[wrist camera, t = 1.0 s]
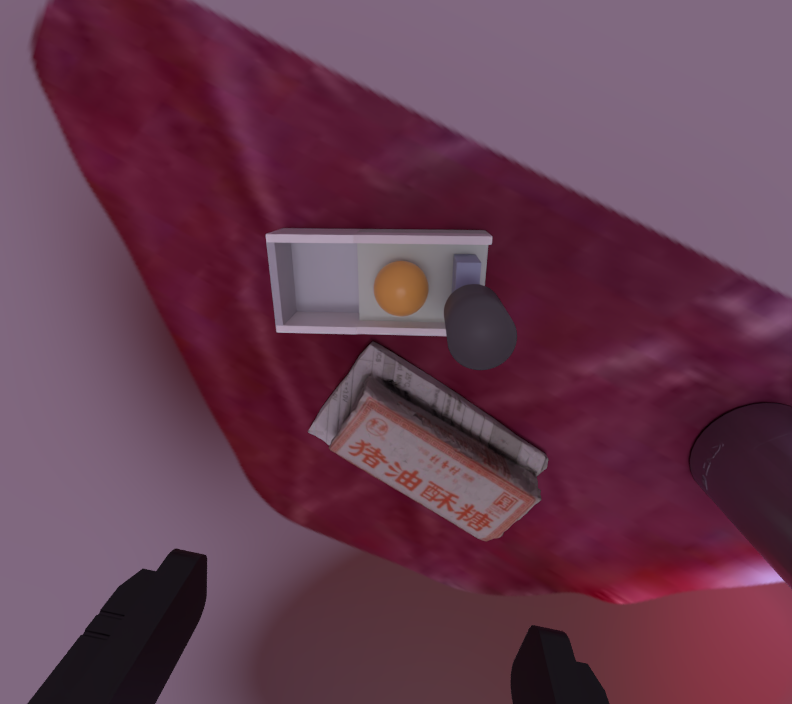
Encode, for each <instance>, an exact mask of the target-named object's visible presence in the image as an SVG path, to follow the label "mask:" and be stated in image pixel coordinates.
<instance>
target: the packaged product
mask: <svg viewBox="0 0 792 704" xmlns="http://www.w3.org/2000/svg"><path fill="white" fill-rule="evenodd" d="M308 433H310V434H313V435H315V436H317V437H318V438H320V439H322V440H323V441H325V442H326V443H327V444H328V445H330V446H329V449H330V450H331V451H332V452H335V453H336V454H338V455H339V456H341V457H342V458H344V459H345V460H347V461H349V462H350V463H352V464H354V465H355V466H357V467H359V468H360V469H362V470H364V471H366V472H367V473H369V474H370V475H372V476H374V477H375V478H377V479H379V480H381V481H383V482H384V483H386V484H388V485H389V486H391V487H393V488H394V489H396V490H398V491H399V492H401V493H403V494H405V495H406V496H408V497H410V498H411V499H413V500H415V501H416V502H418V503H420V504H421V505H423V506H425V507H426V508H428V509H430V510H431V511H433V512H435V513H437V514H438V515H440V516H441V517H444V518H445V519H446V520H448V521H450V522H452V523H453V524H455V525H456V526H458V527H459V528H461V529H463V530H465V531H467V532H468V533H470V534H471V535H473V536H475V537H476V538H478V539H481V540H483V541H488V540H492V539H493V538H499V537H501V536H502V535H503V533H504V531H506V530H507V529H509V527H510V526H511V525H512V524H513V523H515V522H516V521H517V520H520V519H521V518H522V517H523V516H524V515H525V514H527V513H528V511H529V510H530V509H531V508H532V507H533V506H534V505H535V504H537V503H538V502H540V501H541V495H540V493H541V490H540V489H538V481H537V476H538V475H539V474H540V473H541V472H542V471H543V470H545V469H546V468H547V463H548V458H547V456H546V454H545V453H544V452H542V451H540V450H539V449H537V448H536V447H534V446H533V445H531V444H530V443H528V442H526V441H525V440H523V439H522V438H520V437H519V436H517V435H516V434H514V433H513V432H512V431H510V430H509V429H508V428H506V427H505V426H504V425H502V424H501V423H499V422H498V421H497V420H495V419H494V418H493V417H491V416H490V415H488V414H486V413H485V412H483V411H482V410H481V409H479V408H478V407H476V406H475V405H473V404H472V403H470V402H469V401H467V400H466V399H464V398H463V397H462V396H460V395H459V394H457V393H456V392H454V391H453V390H451V389H450V388H448V387H447V386H445V385H444V384H442V383H441V382H439V381H437V380H436V379H434V378H433V377H431V376H430V375H428V374H427V373H425V372H423V371H422V370H420V369H419V368H417V367H415V366H414V365H412V364H410V363H409V362H407V361H406V360H404V359H402V358H401V357H399V356H397V355H396V354H394V353H393V352H391V351H389V350H388V349H386V348H384V347H383V346H381V345H379V344H377V343H375V342H372V343H371V344H370V345H369V346H368V347H367V348H366V349H365V350H364V351H363V352H362V353H361V354H360V356H359V357H358V359H357V360H356V362H355V364H354V365H353V367H352V368H351V370H350V372H349V373H348V375H347V376H346V377H345V378H344V379H343V381H342V382H341V383H340V384H339V386H338V387H337V388H336V389H335V391H334V392H333V393H332V395H331V396H330V397H329V399H328V400H327V401H326V403H325V404H324V405H323V407H322V408H321V410H320V412H319V413H318V415H317V417H316V419H315V420H314V422H313V424H312V426H311V427H310V429H309V431H308Z"/></svg>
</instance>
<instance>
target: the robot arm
mask: <svg viewBox="0 0 792 704" xmlns="http://www.w3.org/2000/svg"><path fill="white" fill-rule="evenodd" d="M690 470H691V473H692V475H693V478H694V479H695V481H696V482H697V483H698V485H699V486H700V487H701V488H702V489H703V490H704V491H705V493H706V494H707V495H708V496H709V497H710V498H711V499H712V500H713V501H714V503H715V504H716V505H717V506H718V507H719V508H720V509H721V510H722V512H723V513H724V514H725V515H726V516H727V517H728V519H729V520H730V521H731V522H732V523H733V524H734V525H735V526H736V528H737V529H738V530H739V531H740V532H741V533H742V534H743V535H744V536H745V538H746V539H747V540H748V541H749V542H750V543H751V544H752V545H753V547H754V548H755V549H756V550H757V551H758V552H759V553H760V554H761V555H762V557H763V558H764V559H765V560H766V561H767V562H768V563H769V564H770V566H771V567H772V568H773V569H774V570H775V571H776V572H777V573H778V574H779V576H780V577H781V578H782V579H783V580H784V581H785V582H786V583H787V585H788V586H789V587H790V588H791V589H792V407H791V406H787V405H783V404H779V403H760V404H753V405H748V406H745V407H742V408H738V409H736V410H734V411H731V412H729V413H727V414H725V415H723V416H722V417H720V418H719V419H717V420H716V421H714V422H713V423H712V424H711V425H710V426H709V427H707V428H706V429H705V430H704V431H703V433H702V434H701V435H700V437H699V438H698V439H697V441H696V443H695V445H694V447H693V449H692V452H691V457H690ZM206 596H207V556H206V555H204V554H199V553H194V552H189V551H185V550H180V549H174V550H172V551H171V552H170V553H169V554H168V556H167V557H166V558H165V560H164V561H163V563H162V564H161V565H160V567H159V568H158V570H157V571H151V570H147V569H142V570H140V571H139V572H138V573H136V574H135V575H134V576H132V577H131V578H130V579H128V580H127V581H126V582H124V583H123V584H122V585H120V586H119V587H118V588H117V590H116V591H115V592H114V593H113V595H112V596H111V597H110V598H109V600H108V601H107V602H106V604H105V605H104V606H103V607H102V609H101V611H100V613H99V614H98V615H96V616H95V618H94V619H93V620H92V622H91V623H90V624H89V625H88V627H87V628H86V629H85V632H84V634H83V635H81V636H80V637H79V638H78V639H77V641H76V642H75V643H74V645H73V646H72V647H71V649H70V650H69V651H68V652H67V654H66V655H65V656H64V657H63V659H62V660H61V661H60V663H59V664H58V665H57V666H56V668H55V669H54V670H53V672H52V673H51V674H50V675H49V677H48V678H47V679H46V681H45V682H44V683H43V684H42V686H41V687H40V688H39V690H38V691H37V692H36V693H35V695H34V696H33V697H32V699H31V700H30V701H29V703H28V704H155V703H156V701H157V699H158V697H159V696H160V694H161V692H162V690H163V688H164V686H165V684H166V682H167V681H168V679H169V677H170V675H171V673H172V671H173V669H174V668H175V666H176V664H177V662H178V660H179V658H180V656H181V654H182V653H183V651H184V649H185V647H186V645H187V643H188V641H189V639H190V638H191V636H192V634H193V632H194V630H195V628H196V626H197V624H198V622H199V620H200V618H201V615H202V612H203V609H204V606H205V602H206ZM511 694H512V700H513V704H609V701H608V699H607V696H606V693H605V690H604V689H603V687H602V686H601V684H600V682H599V681H598V679H597V678H596V676H595V675H594V673H593V671H592V670H591V668H590V667H589V665H588V664H586V663H581V662H576V660H575V657H574V653H573V650H572V647H571V643H570V640H569V638H568V636H567V635H566V633H565V632H563V631H558V630H553V629H549V628H544V627H540V626H535V625H532V626H531V627H530V628H529V630H528V632H527V634H526V636H525V639H524V641H523V643H522V645H521V647H520V649H519V651H518V654H517V655H516V658H515V660H514V662H513V666H512V671H511Z"/></svg>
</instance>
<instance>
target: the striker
mask: <svg viewBox="0 0 792 704" xmlns="http://www.w3.org/2000/svg"><path fill="white" fill-rule="evenodd" d="M480 273H481V262H480V260H479V259H478V257H477V256H476V254H454V257H453V275H452V293H451V295H450V296H449V297H448V299H447V301H446V303H445V306H444V320H445V328H446V335H447V342H448V347H449V351H450V353H451V355H452V356H453V358H454V359H455V360H456V361H457V362H458V363H460V364H461V365H463V366H465V367H467V368H470V369H474V370H487V369H491V368H494V367H497V366H498V365H500V364H502V363H503V362H504V361H506V360H507V359H508V358H509V356H510V355H511V354H512V352H513V350H514V348H515V345H516V341H517V331H516V327H515V325H514V322H513V321H512V319H511V317H510V316H509V314H508V313H507V311H506V309H505V308H504V306H503V305H502V303H501V301H500V300H499V298H498V296H497V295H496V294H495V293H494V292H493V291H492V290H491V289H490V288H488V287H486V286H483V285H480Z"/></svg>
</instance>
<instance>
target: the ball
mask: <svg viewBox="0 0 792 704" xmlns="http://www.w3.org/2000/svg"><path fill="white" fill-rule="evenodd" d="M428 291H429V285H428V281H427V278H426V276H425V274H424V272H423V271H422V270H421V269H420V268H419V267H418V266H417V265H415V264H413V263H411V262H407V261H395V262H391V263H389V264H387V265H386V266H384V267H383V268H382V269H381V270H380V271H379V273H378V274H377V276H376V278H375V281H374V296H375V299H376V301H377V303H378V304H379V306H380V307H381V308H382V309H383V310H384V311H385V312H387V313H389V314H391V315H394V316H408V315H411V314H413V313H415V312H417V311H418V310H419V309H420V308H421V307H422V306H423V305H424V303H425V302H426V299H427V296H428Z"/></svg>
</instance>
